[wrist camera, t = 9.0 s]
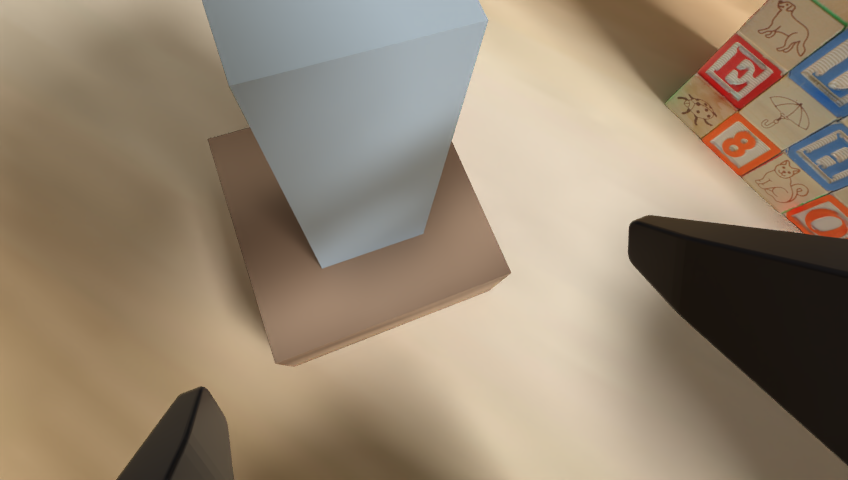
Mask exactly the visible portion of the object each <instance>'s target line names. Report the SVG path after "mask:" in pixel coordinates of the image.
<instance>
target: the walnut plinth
mask: <svg viewBox="0 0 848 480" xmlns="http://www.w3.org/2000/svg"><path fill="white" fill-rule="evenodd" d="M208 142H209V145H210V148H211V152H212V155H213V158H214V162H215V165H216V168H217V171H218V175H219V178H220V181H221V185H222V188H223V191H224V195H225V198H226V201H227V205H228V208H229V211H230V215H231V218H232V221H233V225H234V228H235V231H236V234H237V238H238V241H239V244H240V248H241V251H242V254H243V258H244V261H245V264H246V268H247V271H248V274H249V278H250V281H251V284H252V288H253V291H254V294H255V298H256V301H257V304H258V307H259V311H260V314H261V317H262V321H263V324H264V327H265V331H266V334H267V337H268V341H269V344H270V347H271V351H272V354H273V357H274V361H275V364H281V365H287V366H297V365H300V364H302V363H305V362H307V361H310V360H312V359H315V358H318V357H320V356H323V355H325V354H328V353H330V352H333V351H336V350H338V349H341V348H343V347H346V346H348V345H351V344H353V343H356V342H359V341H361V340H364V339H366V338H369V337H371V336H374V335H377V334H379V333H382V332H384V331H387V330H389V329H392V328H395V327H397V326H400V325H402V324H405V323H407V322H410V321H413V320H415V319H418V318H420V317H423V316H425V315H428V314H431V313H433V312H436V311H438V310H441V309H443V308H446V307H449V306H451V305H454V304H456V303H459V302H461V301H464V300H466V299H469V298H472V297H474V296H477V295H479V294H482V293H484V292H487V291H489V290H491V289H492V288H493V287H494V286H496V285H497V284H498V283H499V282H501V281H502V280H503V279H504V278H505V277H507V276H508V275H509V274H510V273H511V271H510V269H509V267H508V265H507V263H506V260H505V258H504V256H503V254H502V251H501V249H500V247H499V245H498V243H497V240H496V238H495V236H494V234H493V232H492V229H491V227H490V225H489V223H488V220H487V218H486V216H485V214H484V212H483V209H482V207H481V205H480V203H479V201H478V198H477V196H476V194H475V192H474V190H473V187H472V185H471V183H470V181H469V178H468V176H467V174H466V172H465V170H464V167H463V165H462V163H461V161H460V159H459V156H458V154H457V152H456V150H455V148H454V145H453V143H452V141H451V144H450V148H449V151H448V154H447V157H446V161H445V164H444V167H443V171H442V174H441V177H440V180H439V184H438V187H437V190H436V194H435V197H434V200H433V203H432V207H431V210H430V213H429V217H428V220H427V223H426V226H425V230H424V233H423V234H421V235H418V236H415V237H413V238H410V239H407V240H404V241H401V242H398V243H395V244H392V245H389V246H386V247H384V248H381V249H378V250H375V251H372V252H369V253H366V254H363V255H360V256H357V257H354V258H352V259H349V260H346V261H343V262H340V263H337V264H334V265H331V266H328V267H325V268H322V267H321V266H320V264H319V262H318V260H317V258H316V256H315V254H314V252H313V250H312V248H311V246H310V244H309V242H308V240H307V238H306V236H305V234H304V232H303V230H302V228H301V226H300V224H299V222H298V220H297V218H296V216H295V215H294V213H293V211H292V209H291V207H290V205H289V203H288V201H287V199H286V197H285V195H284V193H283V191H282V189H281V187H280V185H279V183H278V181H277V179H276V177H275V175H274V173H273V171H272V169H271V167H270V165H269V164H268V162H267V160H266V158H265V156H264V154H263V152H262V150H261V148H260V146H259V144H258V142H257V140H256V138H255V136H254V134H253V132H252V130H251V128H250V127H249V128H246V129H242V130H239V131H235V132H232V133H228V134H224V135H221V136H217V137H214V138H210V139H208Z"/></svg>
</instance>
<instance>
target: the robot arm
mask: <svg viewBox="0 0 848 480" xmlns="http://www.w3.org/2000/svg"><path fill="white" fill-rule="evenodd" d="M628 255H629V259H630V261H631V263H632V264H633V265H634V266H635V268H636V269H637V270H638V271H639V272H640V273H641V274H642V275H643V276H644V277H645V278H646V280H647V281H648V282H649V283H650V284H651V285H652V286H653V287H654V288H655V289H656V290H657V292H658V293H659V294H660V295H661V296H662V297H663V298H664V299H665V300H666V301H667V302H668V303H669V305H670V306H671V307H672V308H673V309H674V310H675V311H676V312H677V313H678V314H679V315H680V316H681V317H682V318H683V319H684V320H686V321H687V322H688V323H689V324H690V325H691V326H692V327H693V328H694V329H695V330H697V331H698V332H699V333H700V334H701V335H702V336H703V337H704V338H706V339H707V340H708V341H709V342H710V343H711V344H712V345H713V346H714V347H716V348H717V349H718V350H719V351H720V352H721V353H722V354H723V355H725V356H726V357H727V358H728V359H729V360H730V361H731V362H732V363H733V364H735V365H736V366H737V367H738V368H739V369H740V370H741V371H742V372H744V373H745V374H746V375H747V376H748V377H749V378H750V379H751V380H752V381H754V382H755V383H756V384H757V385H758V386H759V387H760V388H761V389H763V390H764V391H765V392H766V393H767V394H768V395H769V396H770V397H771V398H773V399H774V400H775V401H776V402H777V403H778V404H779V405H780V406H782V407H783V408H784V409H785V410H786V411H787V412H788V413H789V414H790V415H792V416H793V417H794V418H795V419H796V420H797V421H798V422H799V423H801V424H802V425H803V426H804V427H805V428H806V429H807V430H808V431H809V432H811V433H812V434H813V435H814V436H815V437H816V438H817V439H818V440H820V441H821V442H822V443H823V444H824V445H825V446H826V447H827V448H828V449H830V450H831V451H832V452H833V453H834V454H835V455H836V456H837V457H839V458H840V459H841V460H842V461H843V462H844V463H845V464H846V465H847V466H848V239H844V238H835V237H827V236H819V235H810V234H802V233H794V232H785V231H777V230H769V229H761V228H752V227H744V226H736V225H727V224H719V223H711V222H702V221H694V220H686V219H677V218H669V217H661V216H653V215H648V216H644V217H642V218H639V219H636V220H634V221H632V222H631V224H630V226H629V239H628ZM116 480H234V476H233V467H232V458H231V449H230V440H229V431H228V425H227V421H226V418H225V416H224V414H223V413H222V411H221V409H220V408H219V406H218V405H217V403H216V402H215V400H214V398H213V397H212V395H211V394H210V392H209V391H208V390H207V389H206V388H205V387H198V388H195V389H193V390H190V391H187V392H185V393H182V394H180V395H179V396H178V397H177V398H176V400H175V401H174V402H173V404H172V405H171V406H170V408H169V409H168V411H167V412H166V413H165V415H164V416H163V417H162V419H161V420H160V421H159V423H158V424H157V425H156V427H155V428H154V429H153V431H152V432H151V433H150V435H149V436H148V438H147V439H146V440H145V442H144V443H143V444H142V446H141V447H140V448H139V450H138V451H137V452H136V454H135V455H134V456H133V458H132V459H131V460H130V462H129V463H128V465H127V466H126V467H125V469H124V470H123V471H122V473H121V474H120V475H119V477H118V478H117V479H116Z"/></svg>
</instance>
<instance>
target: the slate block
mask: <svg viewBox="0 0 848 480" xmlns="http://www.w3.org/2000/svg"><path fill="white" fill-rule="evenodd" d="M202 2H203V5H204V8H205V11H206V15H207V18H208V21H209V24H210V27H211V30H212V34H213V37H214V40H215V43H216V46H217V49H218V53H219V56H220V59H221V62H222V65H223V68H224V72H225V75H226V78H227V81H228V84H229V87H230V89H231V91H232V93H233V95H234V97H235V99H236V101H237V103H238V105H239V107H240V109H241V111H242V112H243V114H244V116H245V118H246V120H247V122H248V124H249V126H250V128H251V130H252V132H253V134H254V136H255V138H256V140H257V142H258V144H259V146H260V148H261V150H262V152H263V154H264V156H265V158H266V160H267V162H268V164H269V165H270V167H271V169H272V171H273V173H274V175H275V177H276V179H277V181H278V183H279V185H280V187H281V189H282V191H283V193H284V195H285V197H286V199H287V201H288V203H289V205H290V207H291V209H292V211H293V213H294V215H295V216H296V218H297V220H298V222H299V224H300V226H301V228H302V230H303V232H304V234H305V236H306V238H307V240H308V242H309V244H310V246H311V248H312V250H313V252H314V254H315V256H316V258H317V260H318V262H319V264H320V266H321V267H322V268H325V267H328V266H331V265H334V264H337V263H340V262H343V261H346V260H349V259H352V258H354V257H357V256H360V255H363V254H366V253H369V252H372V251H375V250H378V249H381V248H384V247H386V246H389V245H392V244H395V243H398V242H401V241H404V240H407V239H410V238H413V237H415V236H418V235H421V234H423V233H424V230H425V226H426V223H427V220H428V217H429V213H430V210H431V207H432V203H433V200H434V197H435V194H436V190H437V187H438V184H439V180H440V177H441V174H442V171H443V167H444V164H445V161H446V157H447V154H448V151H449V148H450V144H451V141H452V138H453V134H454V131H455V128H456V125H457V121H458V118H459V115H460V111H461V108H462V105H463V102H464V98H465V95H466V92H467V88H468V85H469V82H470V78H471V75H472V72H473V69H474V65H475V62H476V59H477V55H478V52H479V49H480V46H481V42H482V39H483V36H484V32H485V29H486V26H487V23H488V19H487V17H486V15H485V13H484V11H483V9H482V7H481V5H480V3H479V1H478V0H202Z"/></svg>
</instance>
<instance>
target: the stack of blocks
mask: <svg viewBox="0 0 848 480" xmlns="http://www.w3.org/2000/svg"><path fill="white" fill-rule="evenodd" d="M665 105H666V106H667V107H668V108H669V109H670V110H671V111H672V112H673V113H674V114H675V115H676V116H677V117H679V118H680V119H681V120H682V121H683V122H684V123H685V124H686V125H687V126H688V127H689V128H690V129H691V130H692V131H693V132H695V133H696V134H697V135H698V136H699V137H700V138H701V140H702V141H703V142H704V143H705V144H706V145H707V146H708V147H709V148H710V149H711V150H712V151H713V152H714V153H715V154H716V155H718V156H719V157H720V158H721V159H722V160H723V161H724V162H725V163H726V164H727V165H728V166H729V167H730V168H731V169H733V170H734V171H735V172H736V173H737V174H738V175H740V176H741V177H742V178H743V180H744V181H745V182H747V183H748V184H749V185H750V186H751V187H752V188H753V189H754V190H755V191H756V192H757V193H758V194H759V195H760V196H761V197H762V198H763V199H765V200H766V201H767V202H768V203H769V204H770V205H771V206H772V207H773V208H774V209H775V210H777V211H778V212H779V213H782V214H784V215H785V216H786V217H787V218H788V220H789V221H791V222H792V223H794V224H795V225H796V226H797V227H798V228H799V229H800V230H801V231H802V232H803V233H804V234H810V235H819V236H827V237H835V238H844V239H848V0H767V1H766V2H765V3H764V4H763V6H762V7H761V8H760V9H759V10H758V11H756V12H755V13H754V14H753V15H752V16H751V17H750V18H749V19H748V20H747V21H746V22H745V23H744V25H743V26H742V27H741V28H740V29H739V30H738V31H737V32H736V33H735V34H734V35H733V36H732V37H731V38H730V39H729V40H728V41H727V42H726V43H725V44H724V45H723V46H722V47H721V48H720V49H719V50H718V51H717V52H716V53H715V54H714V55H713V56H712V57H711V58H710V59H709V60H708V61H707V62H706V63H705V64H704V65H703V66H702V67H701V68H700V69H699V71H698V72H697V73H696V74H694V75H693V76H692V77H691V78H690V79H689V80H688V81H687V82H686V83H685V84H684V85H683V86H682V87H681V88H680V89H679V90H678V91H677V92H676V93H675V94H674V95H672V96H671V97H670V98H669V99H668V101H667V102H666V103H665Z"/></svg>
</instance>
